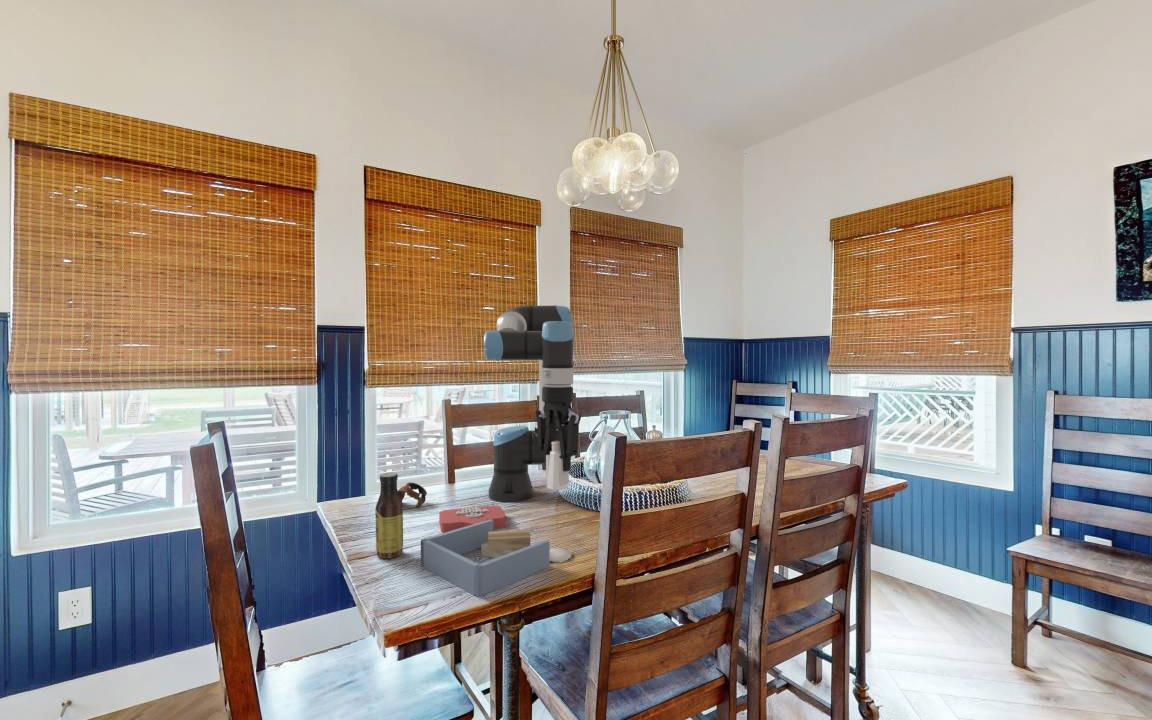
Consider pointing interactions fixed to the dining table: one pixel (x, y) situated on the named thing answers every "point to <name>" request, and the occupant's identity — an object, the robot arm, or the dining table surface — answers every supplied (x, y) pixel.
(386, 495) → the sauce bottle
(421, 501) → the coiled leather belt
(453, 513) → the plaque
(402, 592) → the dining table surface
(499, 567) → the tray
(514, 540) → the oak offcut
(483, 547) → the birch offcut
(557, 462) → the pepper shaker
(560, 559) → the stone coaster
